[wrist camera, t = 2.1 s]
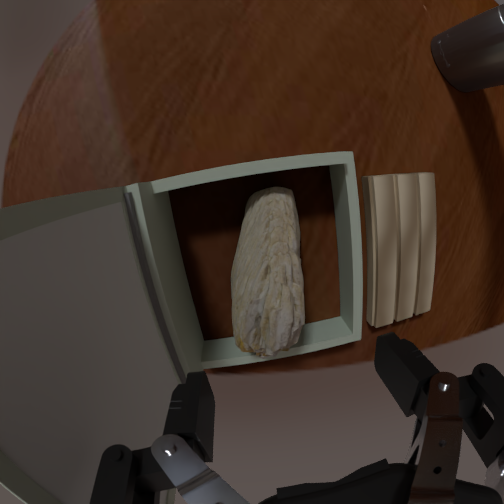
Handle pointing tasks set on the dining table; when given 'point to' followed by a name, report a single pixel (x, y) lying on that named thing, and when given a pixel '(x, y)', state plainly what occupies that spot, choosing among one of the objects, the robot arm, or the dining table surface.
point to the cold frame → (121, 323)
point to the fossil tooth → (268, 275)
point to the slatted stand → (399, 245)
